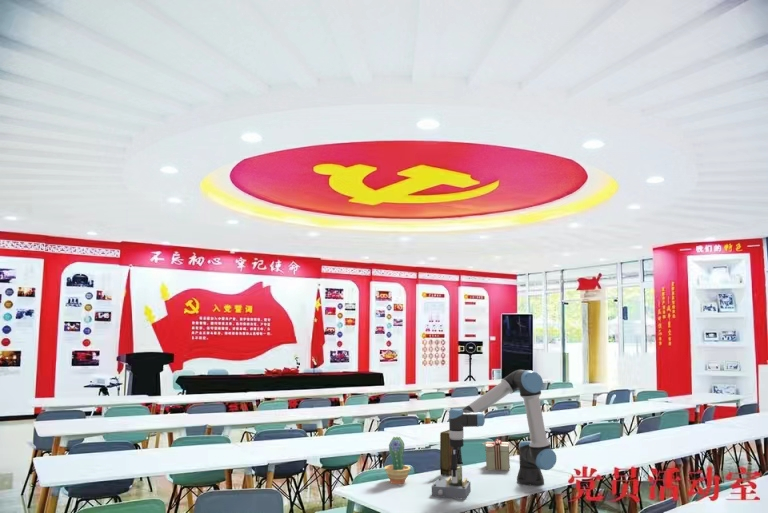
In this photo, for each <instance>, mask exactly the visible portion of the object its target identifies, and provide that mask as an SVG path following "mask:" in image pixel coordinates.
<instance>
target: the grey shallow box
mask: <svg viewBox="0 0 768 513" xmlns="http://www.w3.org/2000/svg"><path fill="white" fill-rule="evenodd" d="M471 488H472V487H471V481H470V480H468V478H467V477H465V478H464V479H462V487H461V486H452V476H448V478H447V479H442V478H437V479H436V480H435V481H434V483H432V485H431V497H439V498H447V497H449V498H450V499H458V498H462V499H461V500H467V498H468V497H469V495H470V493H471V490H472V489H471ZM467 496H468V497H467Z"/></svg>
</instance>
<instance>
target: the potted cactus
mask: <svg viewBox="0 0 768 513" xmlns="http://www.w3.org/2000/svg"><path fill="white" fill-rule="evenodd" d="M388 452H389V455H390V457H391V462H392V464H389V465H385V466H384V471H385V472H386V474H387V477H388V479H389V483H390V484H393V485H401V484H405V483H406V479H407V478H408V477H409V474H410V472H411V469H412V468H411V466H408V465H406V464H404V452H405V443H404V441H403V439H402V437H401V436H399V437H398V436H393V437H392V438H391V440H390V442H389V444H388Z"/></svg>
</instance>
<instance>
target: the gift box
mask: <svg viewBox="0 0 768 513" xmlns="http://www.w3.org/2000/svg"><path fill="white" fill-rule="evenodd" d="M483 445H485V447H484V448H485V450H484V451H485V461H486V462H485V463H486V464H485V465H486V466H485V467H486V468H485V469H486V470H488V471H510V470H511V466H510V442H508V441H502V440H500V439H498V438H496V439H495V441H484V442H483V443H482V444H481V445H480V446H483Z"/></svg>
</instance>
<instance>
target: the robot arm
mask: <svg viewBox="0 0 768 513" xmlns="http://www.w3.org/2000/svg"><path fill="white" fill-rule="evenodd" d="M543 384H544V381H543V378H542V376H541V375H540V374H539V373H538V372H537V371H534V370H529V369H527V370H525V369H517V370H514V371H512V372H511V373H509V374H508V375H507V376H505V377H503V378H502V379H501V380H500V382H499V383H498V384H497V385H495V386H494V387H492V388H491V389H490V390H488V391H487V392H485V393H484V394H482V395H481V396H480V397H478V398H477V399H475V400H474V401H472V402H471V403H469V404H468V405H466V406H465V407H463V408H450V409H449V412H448V420H449V423H448V424H449V428H448V430H449V432H448V433H449V434H450V435H449V437H450V439H449V445H450V446H451V447H453V450H452V462H451V468H450V470H452V475H451V480H452V483H457V466H462V465H463V464H464V461H463V457H462V447H464V428H467V427H468V428H470V427H475V428H476V427H477V428H478V427H483V426H484V425H485V421H486V418H485V414H484V413H483V412H485V411H486V410H488V409H489V408H490V407H492V406H493V405H494V404H496V403H498V402H499V401H500V400H502V399H503V398H505V397H506V396H508V395H509V394H510V395H512V394H513V393H515V392H517V391H519V396H520V397H521V399H523V403H524V409H525V414H526V421H527V424H528V431H529V436H530V440H524V441H523V440H522V441H520V442H519V444H518V445H519V446H518V450H519V451H518V452H519V453H518V454H519V456H518V457H519V459H518V460H519V469H518V471H517V472H518V473H517V476H516V482H517V484H520V485H523V486H532V487H533V486H535V487H536V486H542V485H544V484H545V479H544V475H543V473H542V470H543V471H549V470H552V469H553V468H554V466H555V465H556V463H557V455H556V453H555V451H554V450H553V449H552V445H551V442H550V440H549V441H548V439H547V434H546V428H545V423H544V418H543V417H544V416H543V412H542V406H541V400H540V397H541V395H542V391H541V390H542V388H543V387H544V385H543Z"/></svg>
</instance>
